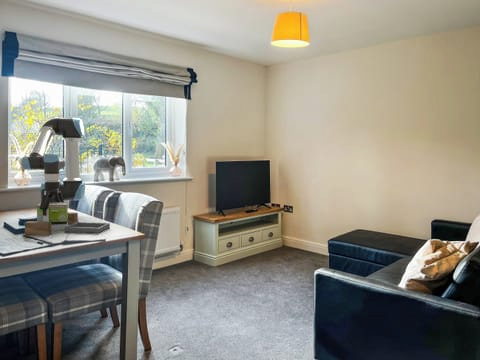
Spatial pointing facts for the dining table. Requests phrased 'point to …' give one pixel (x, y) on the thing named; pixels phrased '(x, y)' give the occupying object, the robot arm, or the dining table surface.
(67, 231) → the tray
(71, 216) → the block
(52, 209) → the tea box
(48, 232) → the block
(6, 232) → the dining table surface
